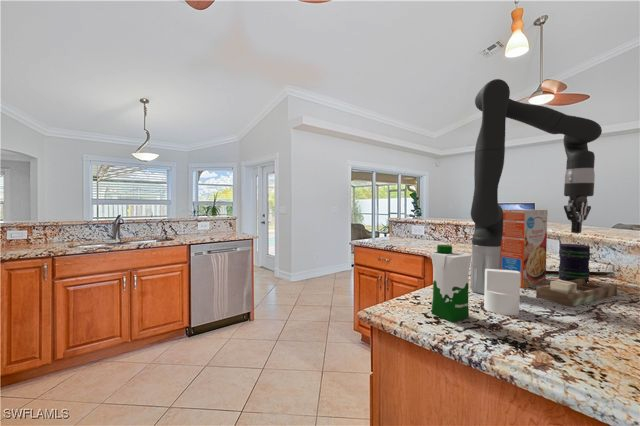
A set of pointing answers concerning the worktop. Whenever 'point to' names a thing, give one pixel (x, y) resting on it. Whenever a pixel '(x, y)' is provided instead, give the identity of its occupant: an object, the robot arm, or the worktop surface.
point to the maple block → (563, 286)
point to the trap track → (577, 293)
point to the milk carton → (450, 284)
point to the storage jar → (574, 262)
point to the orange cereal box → (525, 244)
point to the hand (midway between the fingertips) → (576, 232)
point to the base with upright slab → (502, 291)
